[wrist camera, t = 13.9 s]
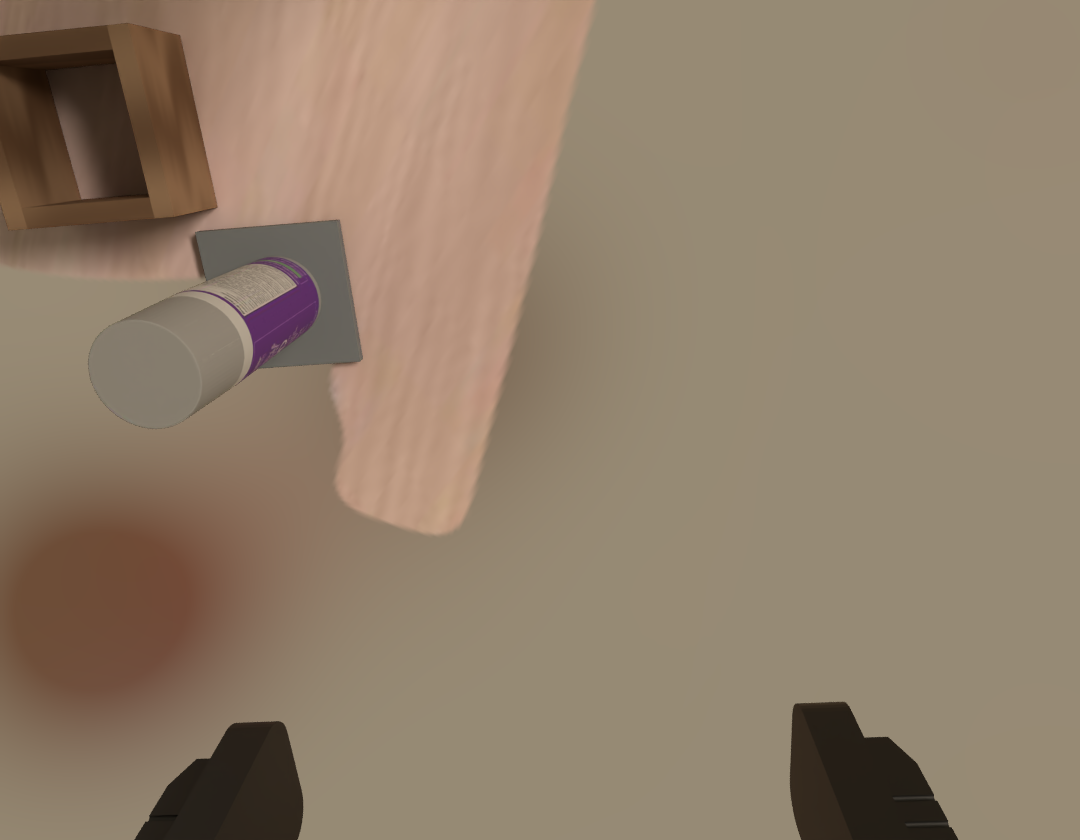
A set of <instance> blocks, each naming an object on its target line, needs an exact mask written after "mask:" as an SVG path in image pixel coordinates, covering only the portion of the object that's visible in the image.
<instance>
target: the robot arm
mask: <svg viewBox="0 0 1080 840" xmlns="http://www.w3.org/2000/svg"><path fill="white" fill-rule="evenodd" d="M791 740H792V741H791V764H790V765H791V766H790V792H791V800H792V806H793V812H794V817H795V821H796V825H797V828H798V831H799V834H800V837H801V840H958V838H957V836H956V835H955V833H954V831H953V829H952V828H951V827H949V825H948V820H947V818H946V816H945V814H944V813H943V811H942V809H941V807H940V805H939V803H938V801H935V799H934V794H933V792H932V790H931V788H930V787H929V785H928V783H927V781H926V780H925V777H924V776H923V774H922V772H921V770H920V768H919V766H918V764H917V763H916V762H915V761H914V760H913V759H911V757H909V756H908V755H907V754H906V753H905V752H904V751H903V750H902V749H901V748H900V747H898V746H897V745H896V744H895V743H894V742H893V741H892V740H891V739H890V738H888V737H871V738H864V736H863V734H862V732H861V730H860V728H859V726H858V724H857V722H856V719H855V717H854V715H853V713H852V711H851V709H850V707H849V706H848V705H847V704H846V703H845V702H825V703H800V704H795V705H794V708H793V714H792V739H791ZM149 816H150V818H149V821H148V822H145V824H144V825H143V827H142V828H141V830H140V832H139V833H138V835H137V836H136V839H135V840H297V839H298V837H299V833H300V829H301V824H302V818H303V796H302V790H301V786H300V782H299V778H298V774H297V770H296V765H295V761H294V758H293V753H292V749H291V745H290V741H289V737H288V733H287V730H286V727H285V725H284V724H283V723H282V722H279V721H276V722H250V723H234V724H232V725H231V726H230V727H229V728H228V729H227V731H226V732H225V734H224V736H223V737H222V739H221V741H220V743H219V744H218V746H217V748H216V750H215V751H214V753H213V755H212V757H211V758H210V759H196V760H195V761H194V762H193V763H192V764H191V765H190V766H189V767H187V769H186V770H184V771H183V772H182V773H181V774H180V775H179V776H178V777H177V778H176V779H175V780H173V781H172V782H171V783H170V784H169V785H168V786H167V788H166V789H165V791H164V793H163V795H162V796H161V798H160V799H159V801H158V802H157V804H156V806H155V807H154V809H153V811H152V812H151V814H150V815H149Z"/></svg>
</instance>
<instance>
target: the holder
mask: <svg viewBox="0 0 1080 840" xmlns="http://www.w3.org/2000/svg"><path fill="white" fill-rule="evenodd" d="M114 63H116V64H117V68H118V72H119V76H120V81H121V85H122V89H123V93H124V97H125V101H126V105H127V109H128V113H129V117H130V121H131V125H132V129H133V133H134V137H135V141H136V145H137V149H138V153H139V157H140V161H141V165H142V169H143V173H144V177H145V181H146V185H147V189H148V193H149V194H142V195H130V196H118V197H106V198H95V199H83V200H81V197H80V194H79V190H78V187H77V183H76V179H75V176H74V172H73V169H72V165H71V161H70V158H69V154H68V151H67V147H66V143H65V140H64V136H63V133H62V129H61V125H60V122H59V118H58V115H57V111H56V107H55V104H54V100H53V97H52V93H51V89H50V86H49V82H48V79H47V75H46V71H45V70H52V69H63V68H73V67H83V66H94V65H104V64H114ZM0 205H1V208H2V211H3V214H4V217H5V220H6V224H7V227H8V230H20V229H32V228H44V227H56V226H68V225H81V224H93V223H105V222H117V221H129V220H141V219H153V218H165V217H175V216H180V215H184V214H189V213H193V212H198V211H202V210H207V209H211V208H216V207H217V202H216V198H215V193H214V189H213V184H212V180H211V175H210V171H209V166H208V161H207V157H206V152H205V148H204V143H203V139H202V134H201V129H200V125H199V120H198V116H197V111H196V107H195V102H194V98H193V93H192V88H191V84H190V79H189V75H188V70H187V66H186V61H185V57H184V52H183V47H182V43H181V38H180V35H176V34H172V33H167V32H163V31H159V30H155V29H150V28H146V27H142V26H138V25H133V24H129V23H125V24H115V25H105V26H95V27H85V28H75V29H65V30H55V31H45V32H35V33H25V34H15V35H5V36H0Z"/></svg>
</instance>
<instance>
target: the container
mask: <svg viewBox="0 0 1080 840" xmlns="http://www.w3.org/2000/svg"><path fill="white" fill-rule="evenodd" d="M320 310H321V294H320V290H319V287H318V284H317V282H316V280H315V279H314V277H313V276H312V274H311V273H310V272H309V271H308V270H307V269H306V268H305V267H304V266H303V265H301V264H300V263H298V262H297V261H295V260H292V259H290V258H287V257H282V256H270V257H265V258H262V259H259V260H257V261H254V262H252V263H249V264H247V265H244V266H242V267H240V268H237V269H235V270H232V271H230V272H228V273H225V274H223V275H220V276H218V277H216V278H213V279H211V280H208V281H206V282H203V283H201V284H199V285H196V286H194V287H192V288H190V289H187V290H184V291H182V292H179V293H177V294H175V295H172V296H171V297H169V298H167V299H164V300H162V301H160V302H158V303H156V304H154V305H152V306H150V307H148V308H146V309H143V310H141V311H139V312H137V313H135V314H133V315H131V316H129V317H127V318H125V319H123V320H121V321H119V322H117V323H114V324H112V325H111V326H109V327H107V328H106V329H104V330H103V331H102V332H101V333H100V334H99V335H98V336H97V338H96V339H95V341H94V342H93V345H92V347H91V350H90V353H89V359H88V366H89V368H88V369H89V375H90V379H91V382H92V385H93V387H94V389H95V391H96V393H97V395H98V396H99V398H100V399H101V401H102V402H103V403H104V404H105V406H106V407H107V408H108V409H109V410H111V411H112V412H113V413H114V414H115V415H117V416H118V417H120V418H121V419H123V420H125V421H127V422H129V423H131V424H133V425H136V426H139V427H144V428H150V429H162V428H168V427H172V426H174V425H177V424H179V423H181V422H183V421H184V420H185V419H187V418H188V417H190V416H191V415H193V414H194V413H195V412H197V411H199V410H200V409H201V408H203V407H205V406H206V405H207V404H209V403H210V402H212V401H213V400H215V399H216V398H218V397H219V396H220V395H222V394H223V393H225V392H226V391H228V390H230V389H231V388H232V387H234V386H236V385H237V384H238V383H240V382H241V381H242V380H243V379H245V378H246V377H247V376H249V375H250V374H251V373H253V372H254V371H255V370H257V369H258V368H259V367H260V366H262V365H263V364H264V363H266V362H267V361H268V360H270V359H271V358H272V357H274V356H275V355H276V354H277V353H279V352H280V351H281V350H283V349H284V348H285V347H287V346H288V345H289V344H290V343H292V342H293V341H294V340H296V339H297V338H298V337H300V336H301V335H302V334H304V333H305V332H306V331H307V330H308V329H309V328H311V327H312V326H313V324H314V323H315V322H316V320H317V318H318V316H319V313H320Z"/></svg>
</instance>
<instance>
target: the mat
mask: <svg viewBox="0 0 1080 840" xmlns="http://www.w3.org/2000/svg"><path fill="white" fill-rule="evenodd" d="M195 234H196V239H197V243H198V247H199V252H200V256H201V260H202V265H203V269H204V273H205V278H206V281H208V280H211V279H213V278H216V277H218V276H220V275H223V274H225V273H228V272H230V271H232V270H235V269H237V268H240V267H242V266H244V265H247V264H249V263H252V262H254V261H257V260H259V259H262V258H265V257H270V256H282V257H287V258H290V259H292V260H295V261H297V262H298V263H300V264H301V265H303V266H304V267H305V268H306V269H307V270H308V271H309V272H310V273H311V274H312V276H313V277H314V279H315V280H316V282H317V284H318V287H319V290H320V294H321V310H320V313H319V316H318V318H317V320H316V322H315V323H314V324H313V326H312V327H311V328H309V329H308V330H307V331H306V332H305V333H304V334H302V335H301V336H300V337H298V338H297V339H296V340H294V341H293V342H292V343H290V344H289V345H288V346H287V347H285V348H284V349H283V350H281V351H280V352H279V353H277V354H276V355H275V356H274V357H272V358H271V359H270V360H268V361H267V362H266V363H264V364H263V365H262V366H260V367H259V368H273V367H287V366H302V365H316V364H331V363H345V362H360V361H361V360H362V359H363V356H362V351H361V345H360V339H359V333H358V327H357V321H356V315H355V309H354V303H353V297H352V291H351V285H350V279H349V273H348V267H347V261H346V255H345V249H344V243H343V237H342V231H341V225H340V220H330V221H317V222H305V223H293V224H280V225H268V226H256V227H244V228H231V229H219V230H207V231H198V232H195Z"/></svg>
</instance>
